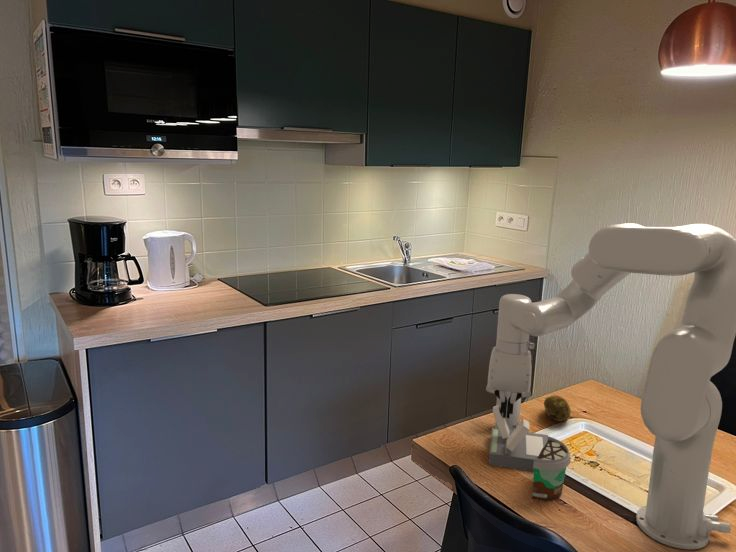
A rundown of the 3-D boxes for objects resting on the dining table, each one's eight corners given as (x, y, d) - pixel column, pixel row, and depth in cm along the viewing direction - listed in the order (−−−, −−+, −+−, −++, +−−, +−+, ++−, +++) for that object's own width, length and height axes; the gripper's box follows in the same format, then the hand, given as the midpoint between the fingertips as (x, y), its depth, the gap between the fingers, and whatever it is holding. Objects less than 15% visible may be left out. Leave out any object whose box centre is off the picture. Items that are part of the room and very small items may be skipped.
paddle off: (509, 447, 133) (529, 421, 130) (508, 456, 128) (529, 430, 126) (503, 443, 133) (523, 418, 130) (502, 452, 129) (523, 426, 126)
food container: (560, 511, 112) (564, 467, 111) (530, 502, 116) (533, 458, 114) (573, 483, 123) (576, 442, 121) (545, 475, 126) (548, 435, 124)
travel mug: (520, 438, 143) (526, 366, 139) (495, 435, 145) (499, 364, 141) (519, 427, 149) (524, 358, 145) (494, 425, 151) (498, 356, 147)
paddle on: (511, 434, 138) (499, 404, 137) (511, 443, 133) (499, 411, 133) (505, 436, 138) (493, 406, 137) (504, 444, 134) (492, 413, 133)
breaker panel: (547, 445, 139) (548, 434, 139) (550, 473, 127) (551, 461, 126) (491, 438, 143) (491, 427, 142) (488, 464, 130) (489, 452, 129)
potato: (579, 416, 157) (581, 390, 155) (563, 432, 147) (566, 405, 145) (550, 408, 162) (552, 382, 160) (533, 423, 152) (535, 396, 150)
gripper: (543, 344, 133) (537, 413, 137) (481, 337, 137) (476, 405, 141) (545, 354, 126) (538, 427, 130) (479, 347, 130) (474, 418, 134)
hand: (506, 415), depth 135 cm, fingers closed
